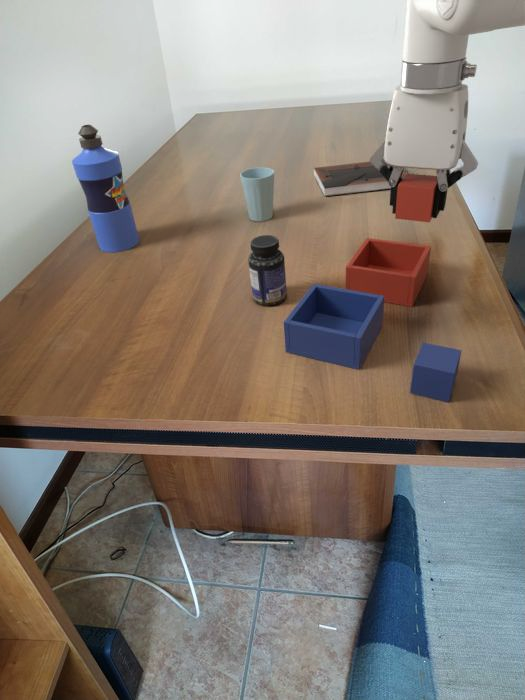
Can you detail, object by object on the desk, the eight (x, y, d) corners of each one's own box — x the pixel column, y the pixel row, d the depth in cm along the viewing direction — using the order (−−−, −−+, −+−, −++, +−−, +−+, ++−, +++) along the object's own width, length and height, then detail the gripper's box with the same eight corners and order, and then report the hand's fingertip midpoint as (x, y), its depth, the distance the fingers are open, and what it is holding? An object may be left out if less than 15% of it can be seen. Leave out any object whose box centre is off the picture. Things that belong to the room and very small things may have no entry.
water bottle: (147, 235, 115) (119, 119, 99) (125, 254, 108) (92, 132, 93) (113, 233, 118) (81, 119, 102) (90, 250, 111) (52, 132, 96)
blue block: (455, 379, 68) (461, 350, 65) (448, 402, 64) (454, 373, 61) (418, 370, 70) (422, 342, 67) (409, 393, 66) (413, 364, 63)
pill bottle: (290, 290, 90) (287, 233, 83) (282, 308, 85) (278, 250, 79) (257, 288, 92) (252, 232, 85) (248, 305, 87) (241, 248, 80)
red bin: (427, 274, 90) (431, 245, 87) (412, 307, 82) (415, 277, 79) (365, 264, 95) (366, 237, 92) (345, 295, 87) (345, 266, 84)
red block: (436, 209, 75) (441, 176, 72) (429, 222, 72) (434, 188, 68) (403, 205, 77) (406, 173, 74) (395, 218, 74) (397, 185, 70)
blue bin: (382, 326, 79) (384, 295, 75) (359, 369, 71) (360, 338, 68) (314, 312, 84) (313, 283, 80) (285, 352, 76) (283, 321, 72)
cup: (283, 218, 116) (280, 173, 109) (252, 226, 114) (247, 181, 107) (269, 208, 121) (265, 165, 115) (240, 215, 119) (235, 172, 113)
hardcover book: (324, 197, 124) (410, 187, 124) (324, 187, 123) (411, 177, 123) (314, 176, 137) (391, 167, 137) (313, 166, 136) (392, 158, 136)
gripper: (507, 69, 62) (480, 208, 73) (374, 70, 69) (368, 197, 80) (500, 81, 57) (472, 229, 68) (357, 81, 64) (353, 216, 75)
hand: (416, 211), depth 74 cm, fingers closed on red block, 5 cm apart
